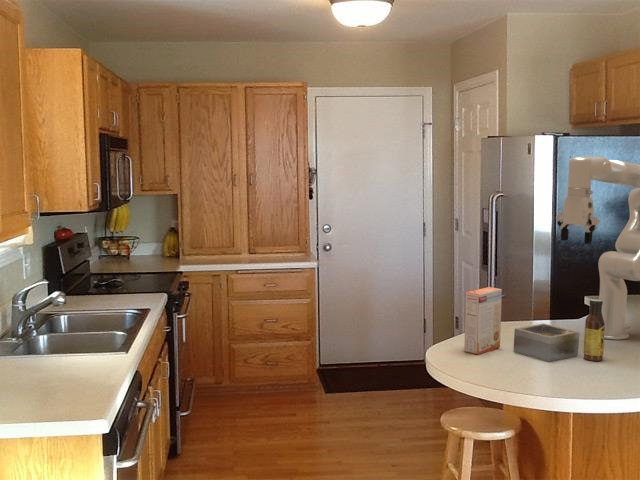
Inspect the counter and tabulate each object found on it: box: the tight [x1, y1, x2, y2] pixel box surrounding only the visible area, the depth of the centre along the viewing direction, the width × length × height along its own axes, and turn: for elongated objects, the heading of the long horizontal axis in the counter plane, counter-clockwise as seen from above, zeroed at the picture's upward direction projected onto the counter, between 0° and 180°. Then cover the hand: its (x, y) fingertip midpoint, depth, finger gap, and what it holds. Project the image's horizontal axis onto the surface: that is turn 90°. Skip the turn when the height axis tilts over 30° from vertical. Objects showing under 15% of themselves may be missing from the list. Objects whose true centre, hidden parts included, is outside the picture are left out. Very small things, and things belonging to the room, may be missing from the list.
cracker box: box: [463, 286, 503, 356], centre depth 268 cm, size 14×6×21 cm, turn 134°
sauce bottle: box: [583, 298, 605, 362], centre depth 259 cm, size 6×6×20 cm
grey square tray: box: [513, 323, 580, 363], centre depth 266 cm, size 17×15×8 cm
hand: (575, 242), depth 274 cm, fingers open, 9 cm apart
